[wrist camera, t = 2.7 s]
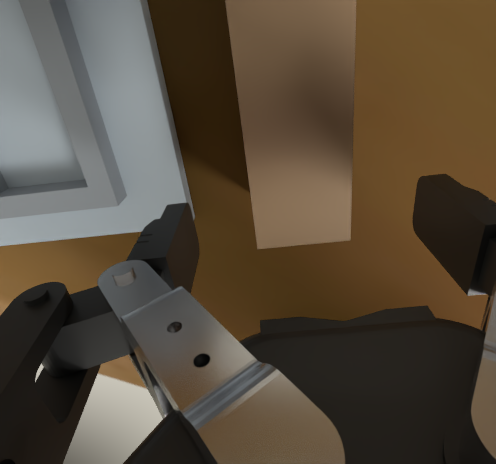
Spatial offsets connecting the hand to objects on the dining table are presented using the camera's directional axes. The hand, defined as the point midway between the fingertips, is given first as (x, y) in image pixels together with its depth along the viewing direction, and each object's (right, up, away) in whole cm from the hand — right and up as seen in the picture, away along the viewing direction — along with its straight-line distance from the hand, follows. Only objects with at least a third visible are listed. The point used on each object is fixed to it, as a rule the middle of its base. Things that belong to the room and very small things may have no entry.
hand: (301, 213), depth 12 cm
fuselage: (0, +7, +5) cm, 8 cm away
